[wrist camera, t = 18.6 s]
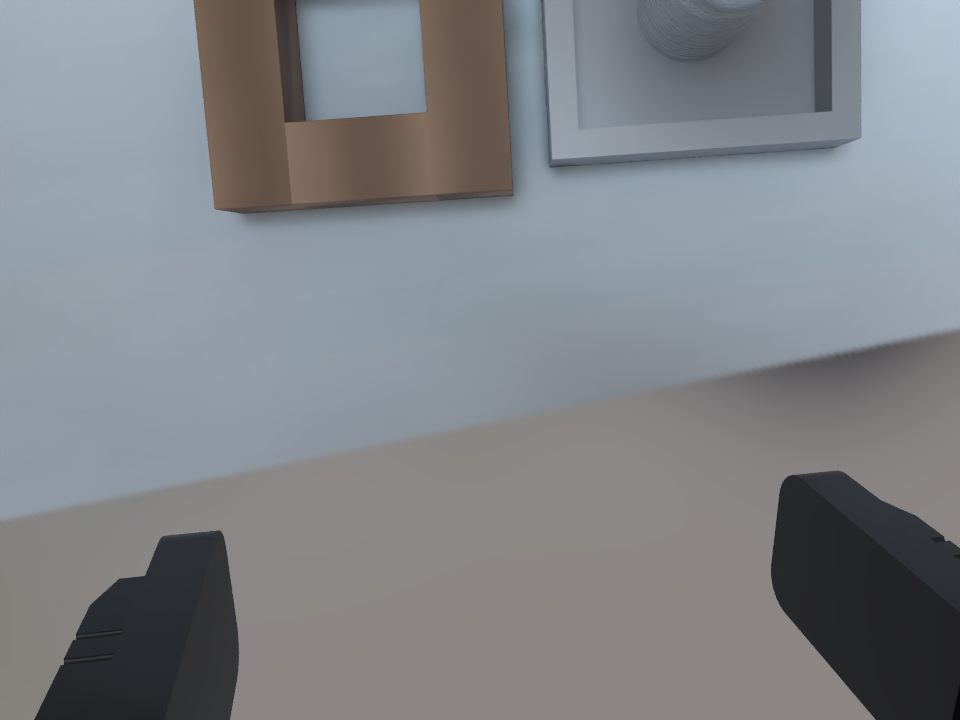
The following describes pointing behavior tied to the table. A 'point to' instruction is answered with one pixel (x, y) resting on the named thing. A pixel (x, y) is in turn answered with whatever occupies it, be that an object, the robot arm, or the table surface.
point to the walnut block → (351, 141)
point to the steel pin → (695, 25)
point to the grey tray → (699, 85)
